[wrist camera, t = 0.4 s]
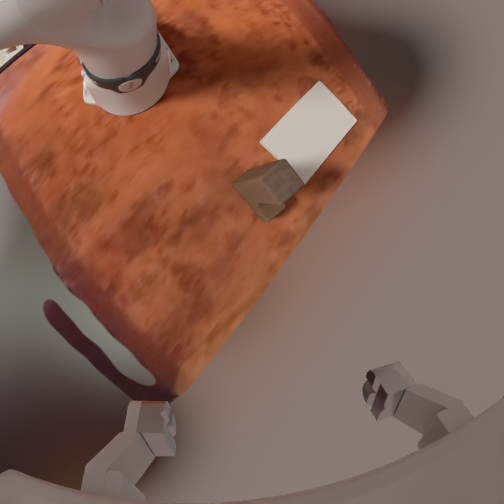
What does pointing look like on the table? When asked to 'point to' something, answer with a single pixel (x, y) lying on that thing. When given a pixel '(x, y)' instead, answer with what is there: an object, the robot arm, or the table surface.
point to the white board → (309, 131)
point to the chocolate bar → (12, 55)
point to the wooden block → (268, 188)
